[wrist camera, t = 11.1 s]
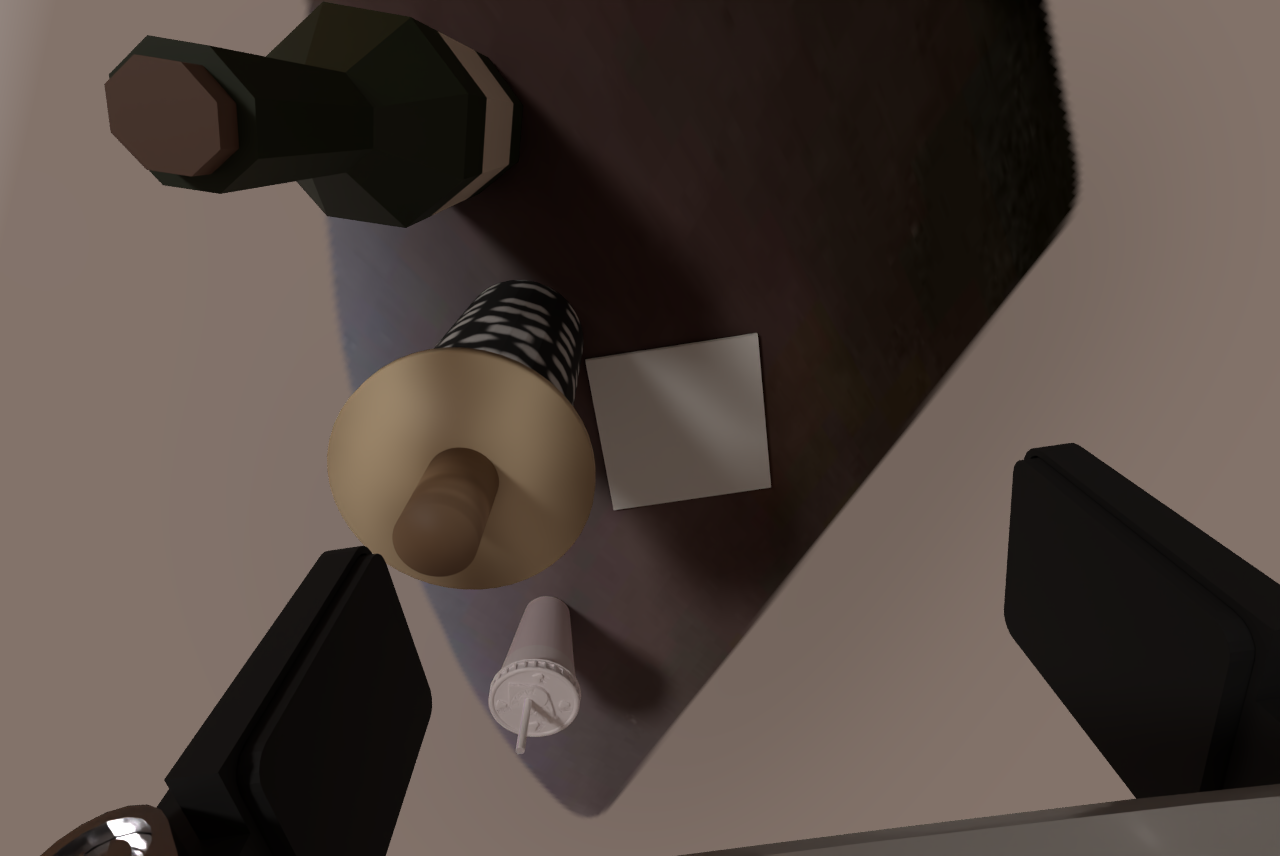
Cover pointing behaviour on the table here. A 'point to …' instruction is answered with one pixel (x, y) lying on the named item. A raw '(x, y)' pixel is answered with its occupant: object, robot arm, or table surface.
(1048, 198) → the table surface
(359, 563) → the robot arm
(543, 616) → the smoothie
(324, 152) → the wine bottle
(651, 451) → the mat
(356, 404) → the lid
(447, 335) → the spotted tube
